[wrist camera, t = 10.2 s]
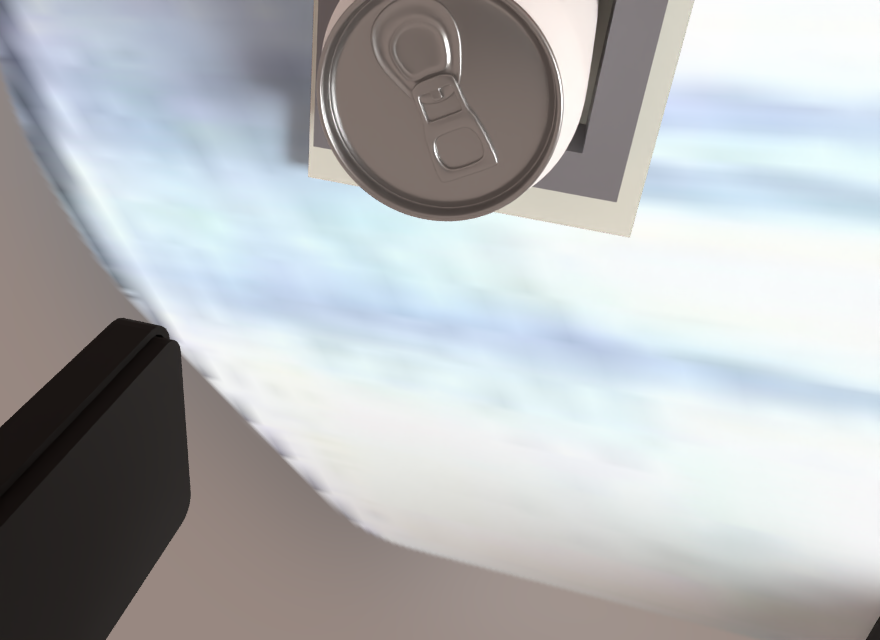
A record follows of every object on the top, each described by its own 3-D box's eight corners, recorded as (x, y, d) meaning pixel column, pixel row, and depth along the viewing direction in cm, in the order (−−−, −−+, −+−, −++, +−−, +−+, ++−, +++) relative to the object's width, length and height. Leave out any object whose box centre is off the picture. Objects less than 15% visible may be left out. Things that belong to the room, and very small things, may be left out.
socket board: (629, 226, 33) (630, 273, 30) (315, 167, 34) (282, 206, 31) (761, -261, 24) (783, -272, 21) (333, -317, 25) (289, -336, 22)
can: (563, -142, 26) (521, -107, 16) (624, 55, 29) (622, 191, 19) (381, -57, 28) (246, 20, 18) (454, 117, 31) (372, 268, 21)
